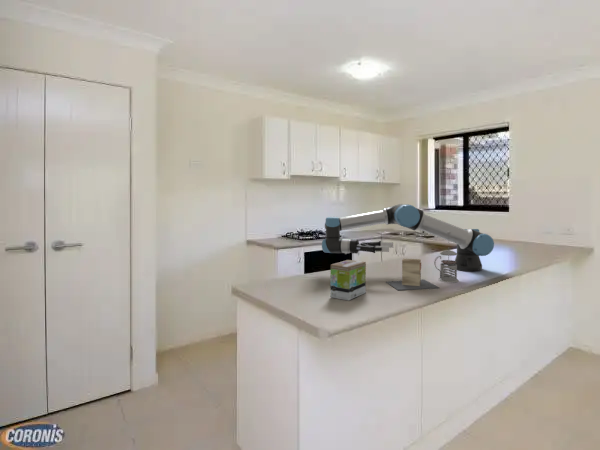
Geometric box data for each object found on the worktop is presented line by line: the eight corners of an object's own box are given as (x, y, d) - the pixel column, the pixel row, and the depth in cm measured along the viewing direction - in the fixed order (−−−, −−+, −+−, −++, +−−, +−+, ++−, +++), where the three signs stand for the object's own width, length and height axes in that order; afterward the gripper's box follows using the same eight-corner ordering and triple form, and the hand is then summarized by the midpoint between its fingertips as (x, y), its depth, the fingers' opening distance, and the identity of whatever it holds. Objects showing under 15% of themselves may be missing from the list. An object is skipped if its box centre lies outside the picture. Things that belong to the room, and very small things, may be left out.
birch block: (403, 282, 180) (403, 258, 179) (421, 283, 176) (421, 259, 175) (402, 284, 175) (402, 260, 174) (420, 286, 172) (420, 261, 171)
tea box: (350, 301, 152) (349, 266, 151) (329, 297, 158) (329, 264, 157) (366, 293, 164) (366, 260, 163) (347, 290, 170) (346, 258, 169)
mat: (424, 280, 185) (424, 279, 185) (439, 288, 169) (439, 287, 169) (386, 282, 182) (386, 281, 182) (398, 290, 167) (398, 289, 167)
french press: (461, 282, 178) (461, 232, 176) (436, 282, 180) (436, 232, 178) (456, 278, 187) (457, 230, 185) (433, 277, 190) (433, 230, 188)
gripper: (356, 249, 205) (394, 250, 197) (344, 257, 182) (387, 258, 174) (356, 236, 204) (394, 236, 196) (343, 242, 182) (386, 243, 173)
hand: (391, 246), depth 185 cm, fingers open, 13 cm apart
